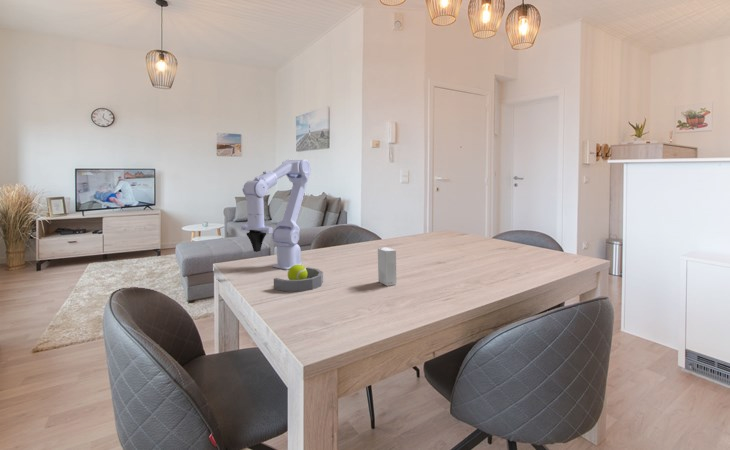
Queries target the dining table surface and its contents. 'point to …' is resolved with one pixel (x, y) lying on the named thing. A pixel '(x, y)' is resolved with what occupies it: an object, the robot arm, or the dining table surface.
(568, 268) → the dining table surface
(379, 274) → the skincare box
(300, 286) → the catch ring
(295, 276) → the tennis ball
